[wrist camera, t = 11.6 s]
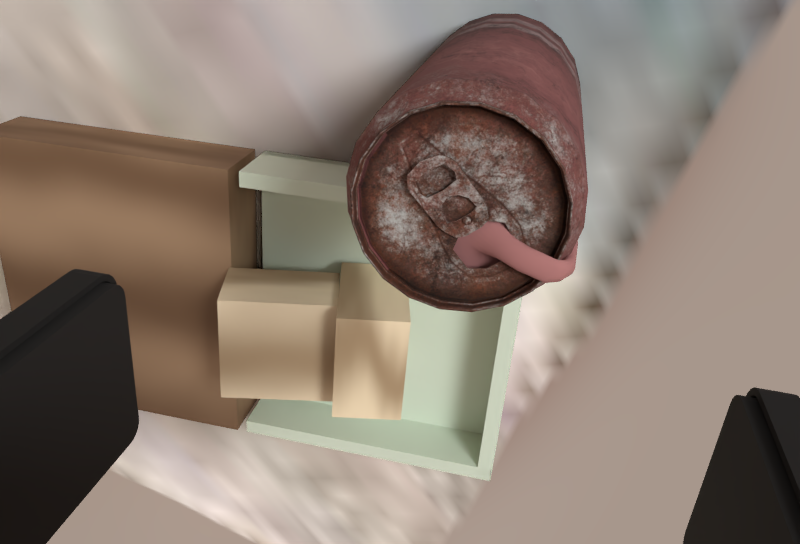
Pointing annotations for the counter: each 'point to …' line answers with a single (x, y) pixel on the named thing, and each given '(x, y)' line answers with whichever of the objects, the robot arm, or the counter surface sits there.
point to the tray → (427, 350)
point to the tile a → (277, 334)
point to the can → (475, 169)
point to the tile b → (369, 345)
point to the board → (134, 243)
